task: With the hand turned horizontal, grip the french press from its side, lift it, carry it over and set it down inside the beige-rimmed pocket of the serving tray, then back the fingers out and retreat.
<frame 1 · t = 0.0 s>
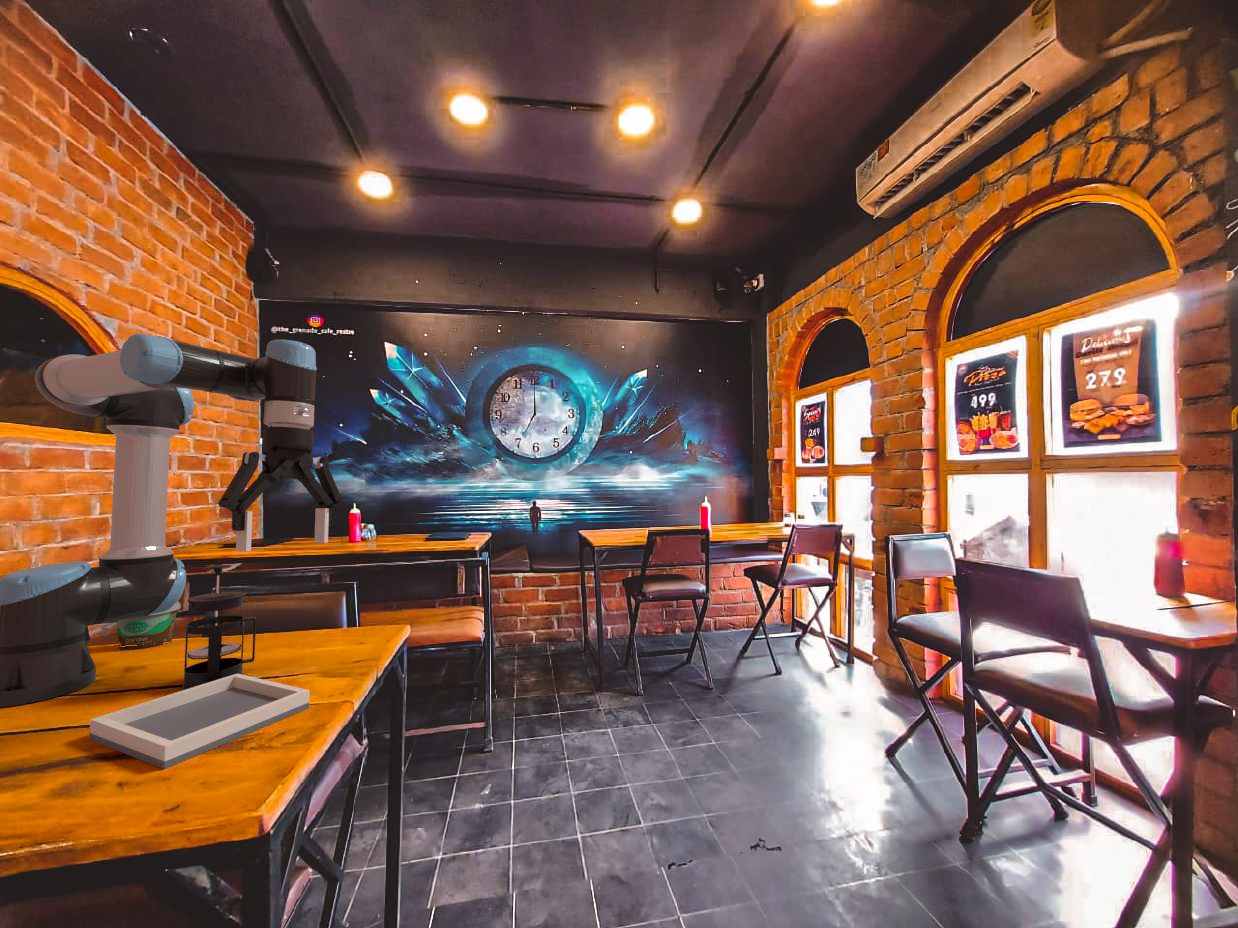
hand: (285, 546, 88), 28 cm above the table, tool pointing down, fingers open, 13 cm apart
serving tray: (206, 722, 80), on the table
food container: (143, 647, 119), on the table
french press: (216, 682, 98), on the table
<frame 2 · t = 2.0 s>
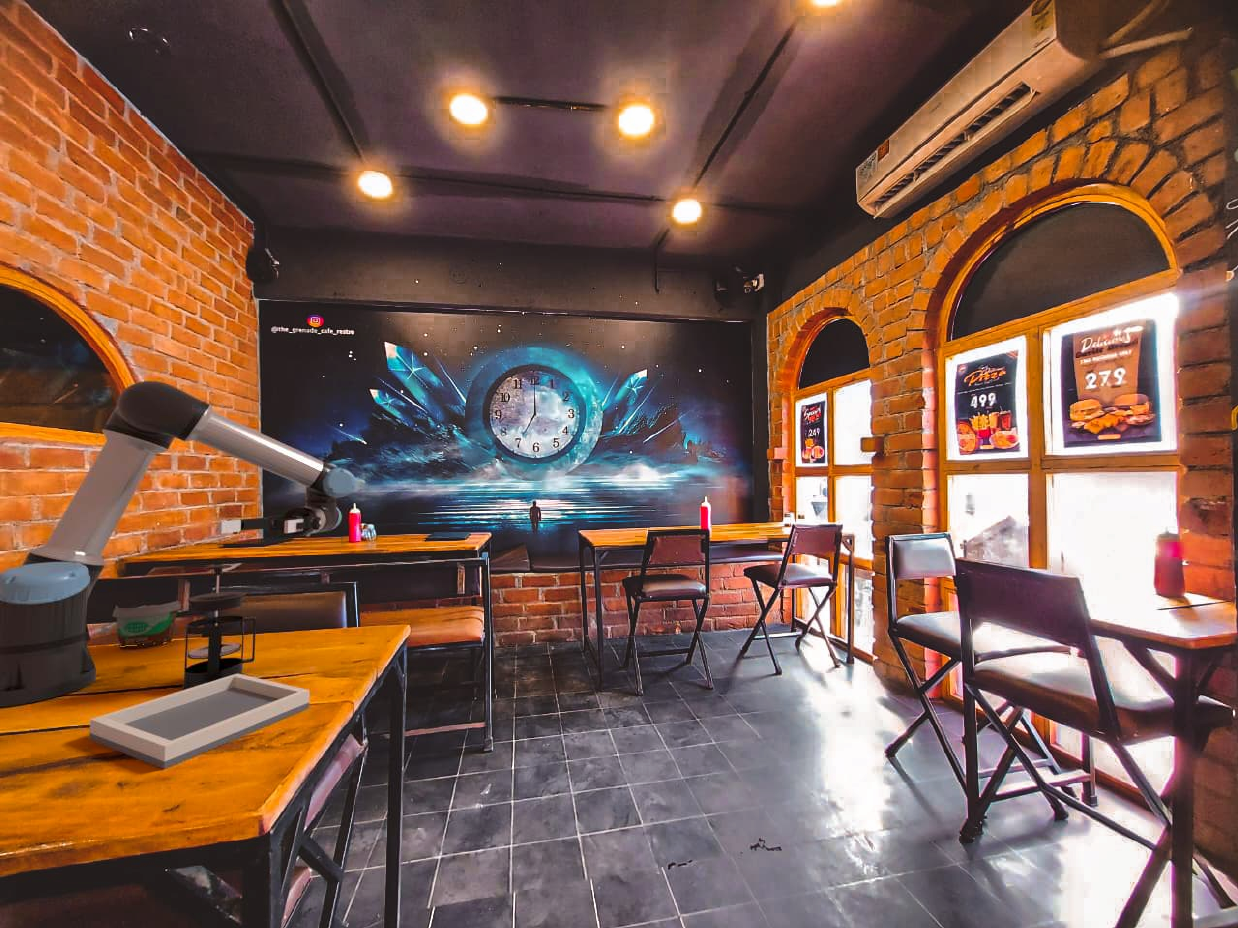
hand: (253, 527, 109), 30 cm above the table, tool horizontal, fingers open, 13 cm apart
nothing on the table moved.
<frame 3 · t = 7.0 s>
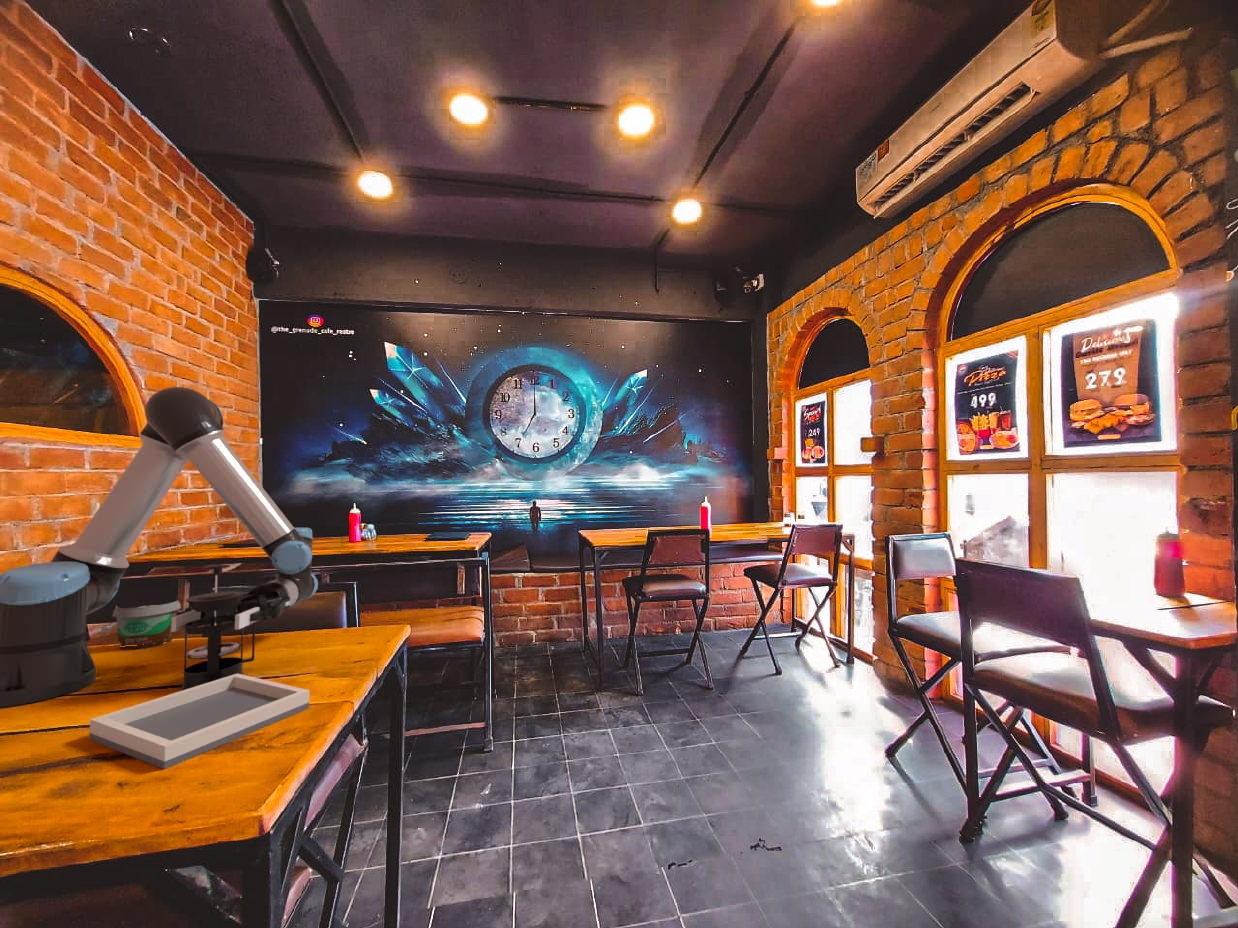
hand: (205, 623, 94), 13 cm above the table, tool horizontal, fingers closed on french press, 10 cm apart
french press: (216, 682, 98), on the table, touching gripper
everything else where it was.
when the fingers open (15 cm above the table, at t = 14.5 s): french press drops 2 cm, resting on serving tray.
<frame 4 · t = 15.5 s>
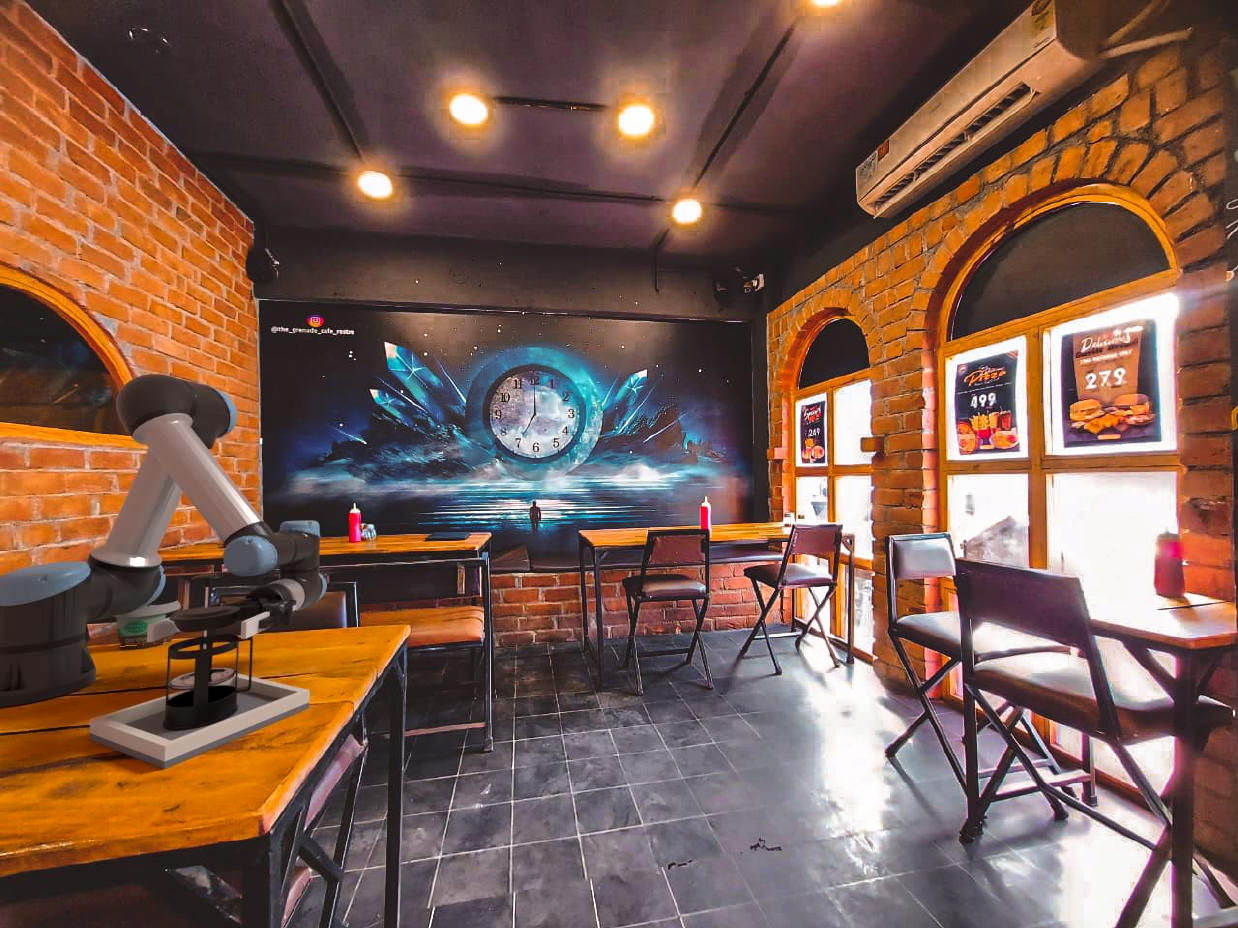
hand: (197, 631, 78), 16 cm above the table, tool horizontal, fingers open, 13 cm apart
french press: (205, 716, 81), point 1 cm above the table, touching serving tray
everything else where it was.
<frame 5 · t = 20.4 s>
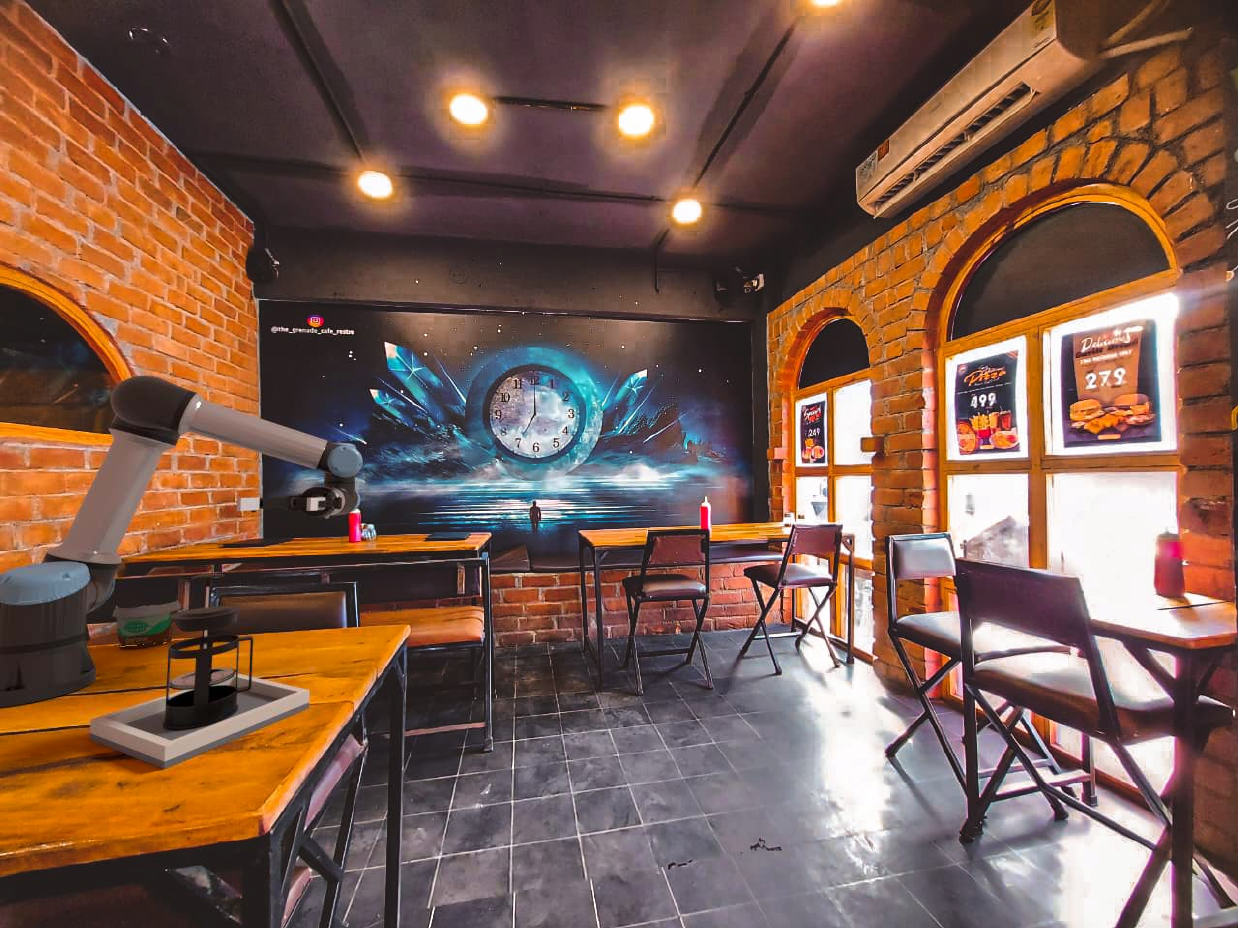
hand: (273, 504, 103), 35 cm above the table, tool horizontal, fingers open, 13 cm apart
nothing on the table moved.
at the end: french press inside the target area on the serving tray (0.4 cm from its centre), point 0.8 cm above the serving tray's base; french press tilted 0°; the gripper is holding nothing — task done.
